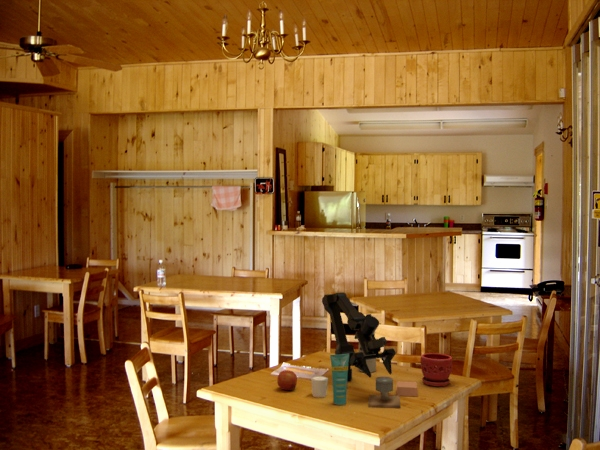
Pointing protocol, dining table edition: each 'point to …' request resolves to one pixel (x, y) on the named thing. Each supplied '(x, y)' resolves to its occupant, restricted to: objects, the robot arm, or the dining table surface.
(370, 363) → the travel mug
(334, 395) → the tube
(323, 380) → the shot glass
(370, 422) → the dining table surface
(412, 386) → the stand
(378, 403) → the square base plate
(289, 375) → the apple
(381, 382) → the cap
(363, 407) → the dining table surface
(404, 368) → the dining table surface
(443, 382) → the plant pot
